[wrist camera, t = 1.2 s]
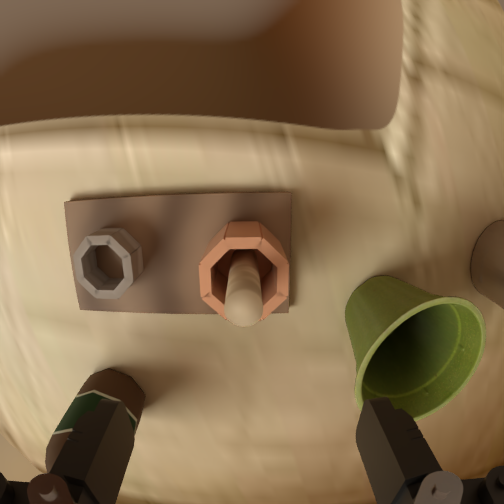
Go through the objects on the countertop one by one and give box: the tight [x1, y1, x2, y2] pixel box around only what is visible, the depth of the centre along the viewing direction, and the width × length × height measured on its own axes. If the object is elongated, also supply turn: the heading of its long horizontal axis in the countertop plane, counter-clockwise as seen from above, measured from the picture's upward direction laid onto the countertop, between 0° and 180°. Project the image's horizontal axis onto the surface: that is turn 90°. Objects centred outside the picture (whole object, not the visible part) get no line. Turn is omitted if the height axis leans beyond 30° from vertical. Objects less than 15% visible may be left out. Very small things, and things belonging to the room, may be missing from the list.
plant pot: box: [345, 276, 486, 421], centre depth 26 cm, size 12×12×11 cm
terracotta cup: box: [199, 221, 289, 321], centre depth 26 cm, size 6×6×6 cm
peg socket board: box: [64, 192, 291, 314], centre depth 27 cm, size 21×11×4 cm, turn 90°
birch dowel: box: [224, 249, 263, 327], centre depth 23 cm, size 2×2×10 cm
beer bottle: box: [45, 369, 145, 473], centre depth 22 cm, size 8×8×24 cm
